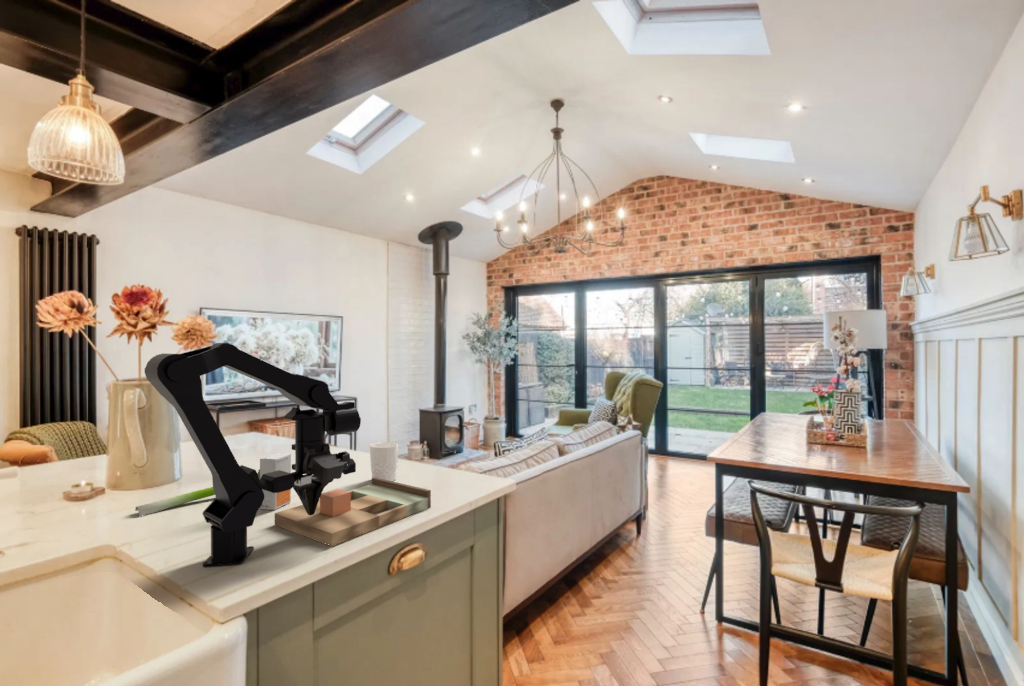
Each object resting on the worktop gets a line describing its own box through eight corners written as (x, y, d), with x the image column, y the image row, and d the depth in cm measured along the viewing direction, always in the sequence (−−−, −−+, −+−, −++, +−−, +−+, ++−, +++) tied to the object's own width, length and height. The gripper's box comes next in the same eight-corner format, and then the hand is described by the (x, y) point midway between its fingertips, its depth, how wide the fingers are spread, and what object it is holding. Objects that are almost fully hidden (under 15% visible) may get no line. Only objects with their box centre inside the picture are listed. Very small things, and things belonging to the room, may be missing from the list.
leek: (135, 520, 114) (269, 482, 136) (141, 532, 110) (279, 491, 131) (133, 495, 113) (268, 462, 135) (139, 506, 109) (278, 469, 130)
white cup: (364, 482, 137) (364, 446, 137) (379, 475, 145) (379, 441, 145) (389, 484, 135) (389, 448, 135) (403, 477, 142) (403, 442, 142)
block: (332, 516, 103) (332, 497, 103) (320, 512, 106) (319, 493, 106) (350, 510, 107) (350, 492, 107) (337, 506, 109) (337, 488, 109)
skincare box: (275, 510, 114) (274, 459, 114) (259, 509, 115) (258, 458, 115) (291, 502, 120) (291, 453, 120) (276, 501, 121) (276, 452, 121)
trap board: (331, 546, 94) (331, 525, 94) (274, 524, 105) (274, 506, 105) (430, 507, 116) (430, 490, 116) (374, 492, 128) (374, 477, 128)
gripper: (290, 452, 89) (290, 538, 89) (372, 436, 104) (372, 509, 104) (257, 445, 95) (258, 525, 95) (339, 430, 111) (340, 499, 111)
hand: (310, 514), depth 101 cm, fingers closed
